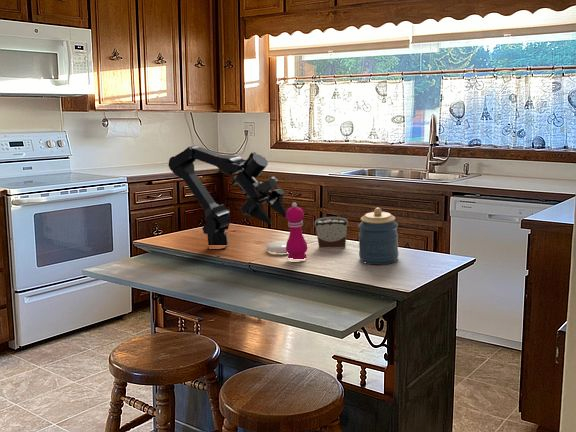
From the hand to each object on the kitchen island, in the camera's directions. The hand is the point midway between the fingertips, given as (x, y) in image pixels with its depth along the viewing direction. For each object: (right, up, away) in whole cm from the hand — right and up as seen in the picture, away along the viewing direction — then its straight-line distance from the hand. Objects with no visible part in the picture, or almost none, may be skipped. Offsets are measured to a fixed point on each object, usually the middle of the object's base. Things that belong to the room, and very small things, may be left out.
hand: (278, 219), depth 218 cm
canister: (+33, -13, -5) cm, 36 cm away
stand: (+1, -11, +11) cm, 16 cm away
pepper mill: (+6, -14, -1) cm, 15 cm away
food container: (+19, -10, +14) cm, 26 cm away
